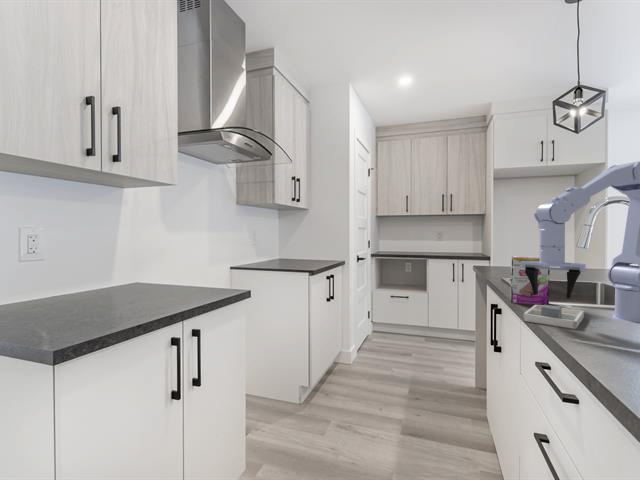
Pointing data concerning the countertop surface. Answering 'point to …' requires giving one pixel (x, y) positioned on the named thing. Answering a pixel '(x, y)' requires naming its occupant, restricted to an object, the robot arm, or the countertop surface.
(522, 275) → the candy bar box
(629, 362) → the countertop surface
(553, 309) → the slate block
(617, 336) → the countertop surface
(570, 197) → the robot arm
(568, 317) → the two-bin tray
